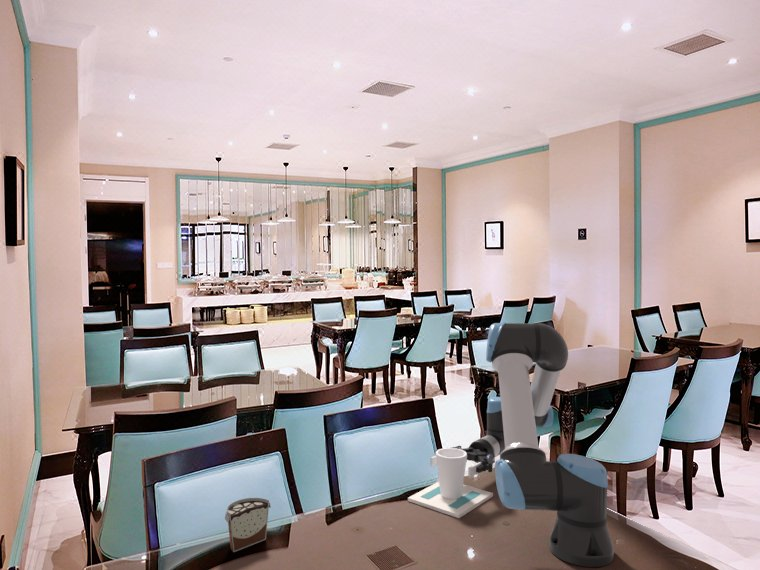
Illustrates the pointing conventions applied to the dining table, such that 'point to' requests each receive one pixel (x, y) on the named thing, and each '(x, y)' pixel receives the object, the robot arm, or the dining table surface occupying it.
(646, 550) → the dining table surface
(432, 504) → the letter board
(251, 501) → the food container
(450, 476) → the foam cup
